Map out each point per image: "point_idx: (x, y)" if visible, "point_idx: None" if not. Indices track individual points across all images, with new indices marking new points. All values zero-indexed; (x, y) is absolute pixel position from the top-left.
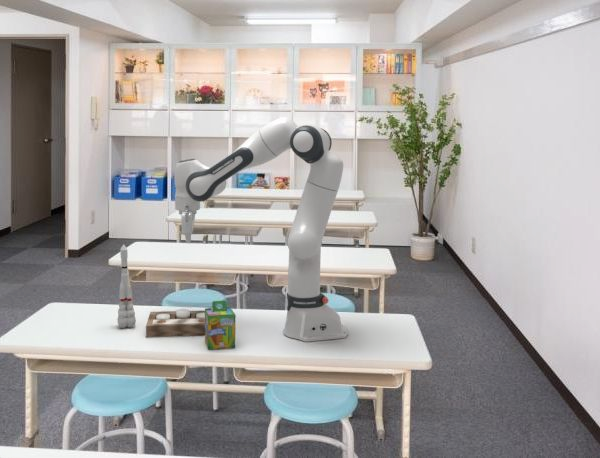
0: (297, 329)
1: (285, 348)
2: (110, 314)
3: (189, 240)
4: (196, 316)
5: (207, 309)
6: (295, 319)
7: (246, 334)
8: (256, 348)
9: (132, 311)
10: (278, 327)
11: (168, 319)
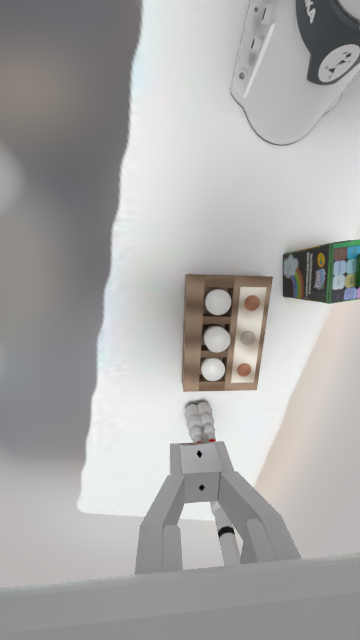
0: (333, 100)
1: (352, 155)
2: (137, 438)
3: (228, 460)
4: (221, 314)
5: (338, 297)
6: (345, 82)
7: (267, 223)
8: (336, 212)
9: (211, 420)
10: (241, 150)
11: (233, 360)
